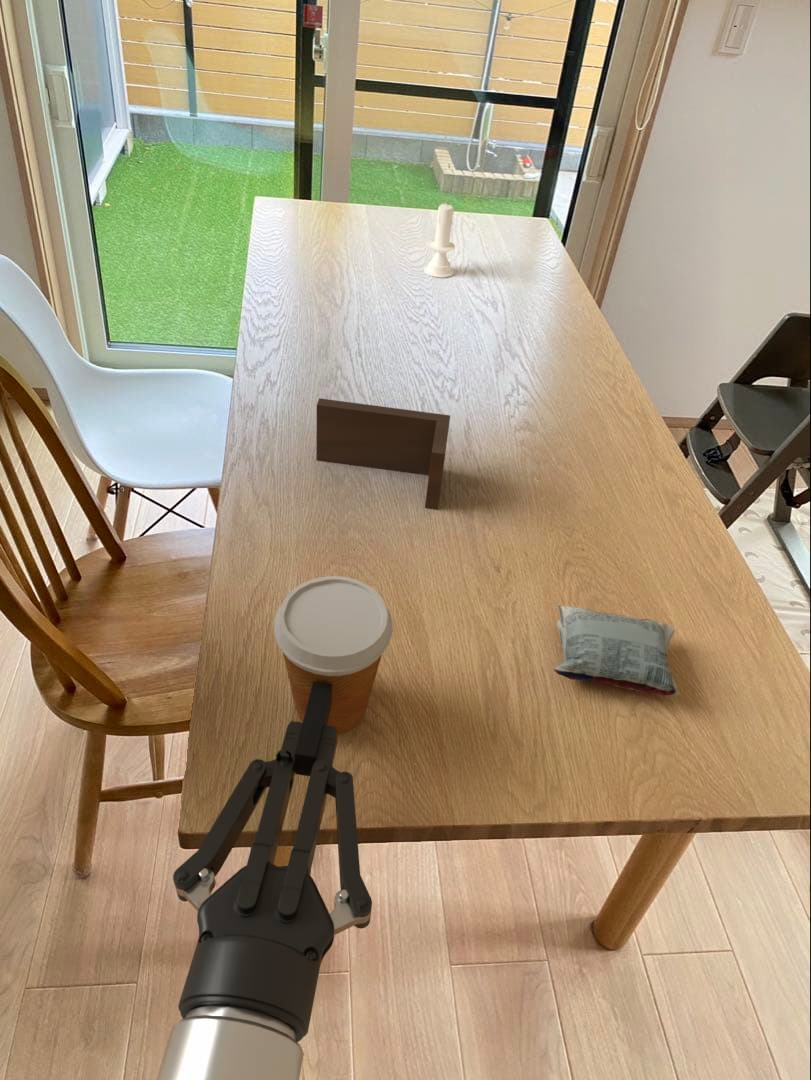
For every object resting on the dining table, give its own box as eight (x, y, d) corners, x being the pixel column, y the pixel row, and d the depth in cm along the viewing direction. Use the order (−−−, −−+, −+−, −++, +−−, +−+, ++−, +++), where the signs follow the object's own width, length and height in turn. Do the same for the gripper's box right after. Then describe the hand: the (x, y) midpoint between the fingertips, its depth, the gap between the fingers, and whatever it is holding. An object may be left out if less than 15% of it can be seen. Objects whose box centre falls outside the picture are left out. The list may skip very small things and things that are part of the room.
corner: (437, 509, 91) (445, 454, 86) (305, 491, 92) (305, 435, 86) (442, 469, 97) (450, 415, 92) (318, 453, 98) (319, 398, 92)
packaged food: (551, 619, 80) (561, 586, 76) (668, 640, 79) (684, 608, 76) (547, 687, 73) (559, 654, 70) (675, 711, 73) (692, 679, 69)
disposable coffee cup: (256, 698, 70) (249, 606, 62) (340, 646, 75) (343, 556, 67) (322, 771, 65) (323, 682, 57) (406, 711, 70) (418, 621, 62)
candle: (418, 267, 141) (425, 198, 133) (445, 264, 143) (453, 196, 135) (432, 279, 138) (439, 210, 130) (458, 276, 140) (467, 207, 131)
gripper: (137, 1033, 47) (244, 709, 64) (352, 1068, 46) (401, 732, 64) (116, 989, 42) (238, 651, 59) (357, 1027, 41) (408, 675, 59)
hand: (322, 693), depth 62 cm, fingers closed
